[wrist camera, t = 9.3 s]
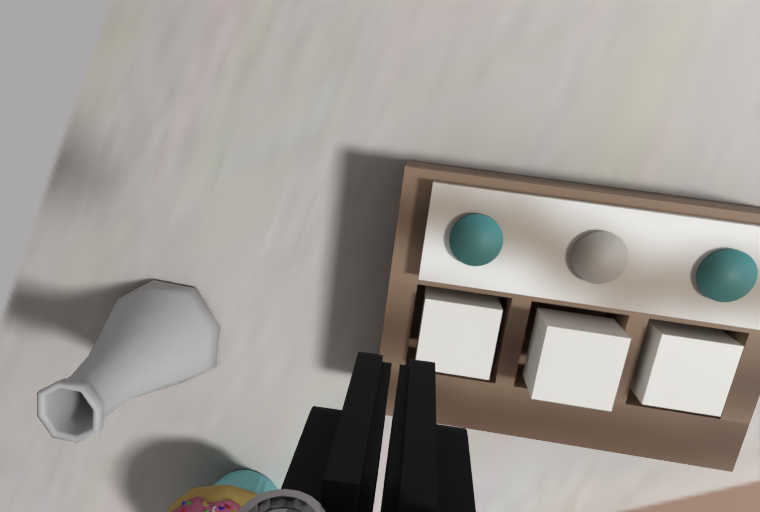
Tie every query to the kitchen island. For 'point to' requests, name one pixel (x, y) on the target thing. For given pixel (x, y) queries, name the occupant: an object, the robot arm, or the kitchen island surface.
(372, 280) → the kitchen island surface
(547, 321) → the button mid
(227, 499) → the cupcake
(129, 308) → the flask
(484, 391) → the board
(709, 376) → the white square block
